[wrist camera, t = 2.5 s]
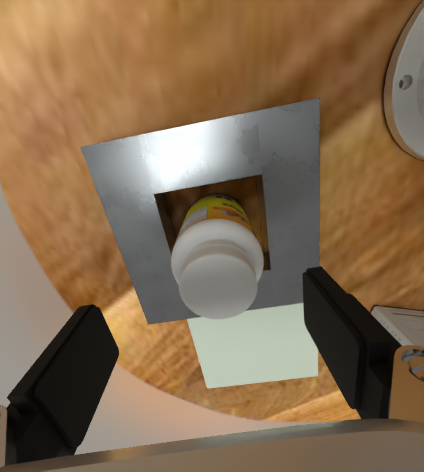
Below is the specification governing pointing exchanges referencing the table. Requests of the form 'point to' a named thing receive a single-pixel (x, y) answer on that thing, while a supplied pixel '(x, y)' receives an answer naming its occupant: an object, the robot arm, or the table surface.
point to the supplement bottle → (217, 258)
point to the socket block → (206, 172)
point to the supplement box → (402, 324)
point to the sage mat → (255, 346)
